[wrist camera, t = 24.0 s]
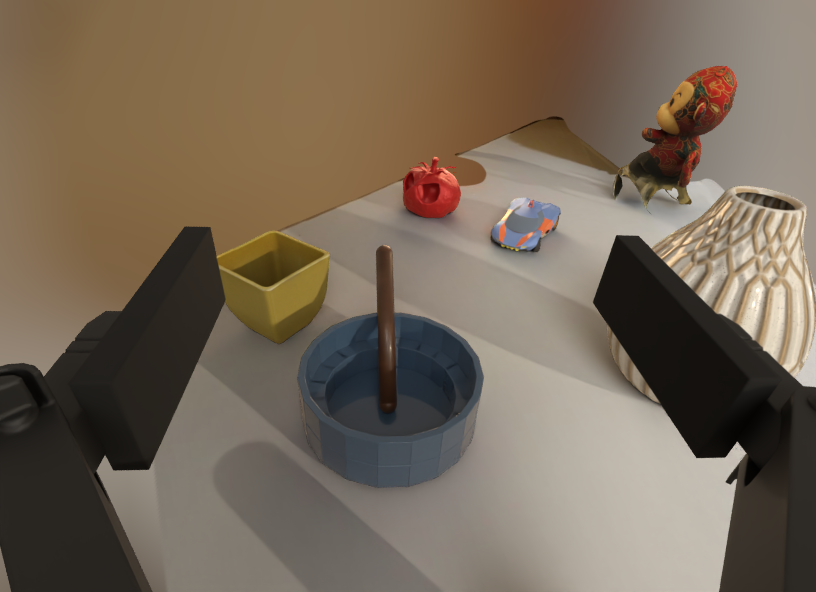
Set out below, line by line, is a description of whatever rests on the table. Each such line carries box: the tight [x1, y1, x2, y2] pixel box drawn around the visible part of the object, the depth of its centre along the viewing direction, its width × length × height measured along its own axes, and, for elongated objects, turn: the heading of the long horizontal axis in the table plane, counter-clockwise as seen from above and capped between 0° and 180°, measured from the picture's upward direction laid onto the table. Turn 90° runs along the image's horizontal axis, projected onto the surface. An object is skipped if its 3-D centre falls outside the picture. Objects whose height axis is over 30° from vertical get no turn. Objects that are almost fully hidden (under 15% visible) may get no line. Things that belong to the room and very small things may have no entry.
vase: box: [607, 186, 816, 404], centre depth 42 cm, size 16×16×20 cm
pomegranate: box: [403, 157, 461, 218], centre depth 77 cm, size 10×10×9 cm
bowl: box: [298, 313, 484, 488], centre depth 40 cm, size 15×15×6 cm
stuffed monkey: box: [613, 66, 737, 213], centre depth 78 cm, size 15×17×25 cm
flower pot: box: [217, 230, 330, 344], centre depth 49 cm, size 9×9×9 cm
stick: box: [376, 245, 397, 413], centre depth 43 cm, size 2×2×16 cm
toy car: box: [491, 198, 561, 252], centre depth 71 cm, size 8×15×5 cm, turn 151°
